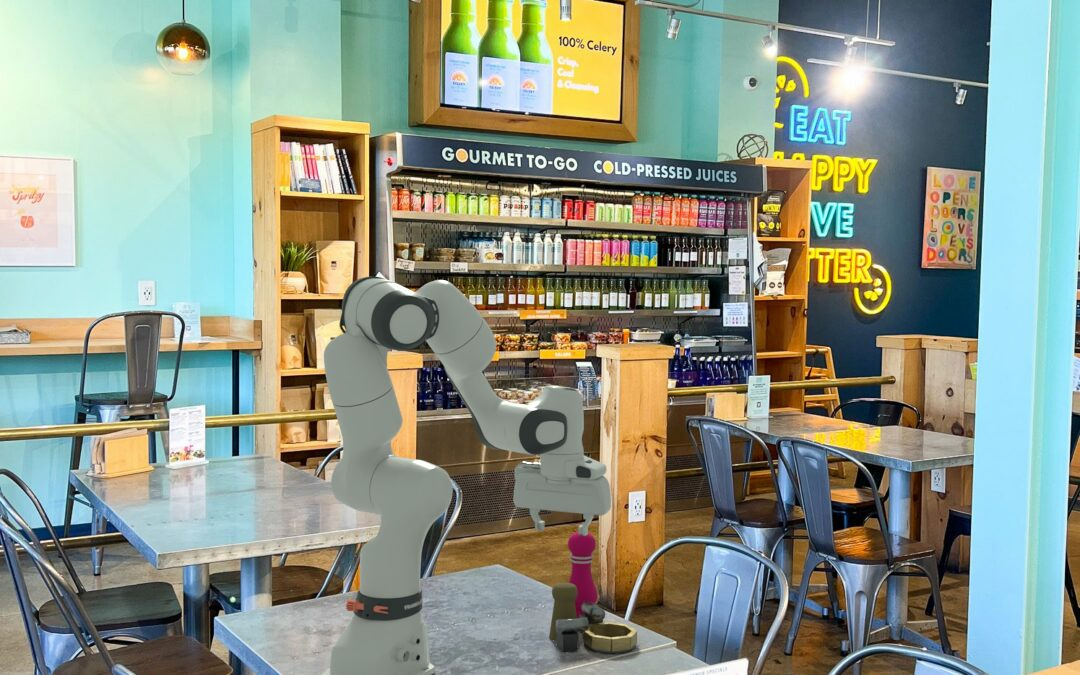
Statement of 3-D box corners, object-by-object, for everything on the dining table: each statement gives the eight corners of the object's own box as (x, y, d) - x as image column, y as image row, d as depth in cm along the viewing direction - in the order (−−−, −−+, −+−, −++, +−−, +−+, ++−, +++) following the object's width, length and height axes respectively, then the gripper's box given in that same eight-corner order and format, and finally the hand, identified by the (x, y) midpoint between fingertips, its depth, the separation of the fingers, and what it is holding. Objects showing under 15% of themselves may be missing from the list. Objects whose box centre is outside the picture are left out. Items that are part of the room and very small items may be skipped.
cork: (584, 639, 211) (585, 585, 211) (558, 644, 208) (559, 589, 208) (568, 631, 217) (569, 578, 216) (543, 635, 214) (544, 581, 213)
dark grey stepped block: (560, 653, 203) (560, 623, 203) (554, 646, 207) (554, 616, 207) (589, 650, 205) (590, 620, 205) (582, 644, 209) (583, 614, 208)
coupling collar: (626, 657, 201) (626, 641, 201) (575, 649, 205) (576, 634, 205) (642, 641, 211) (643, 626, 211) (594, 634, 215) (594, 619, 215)
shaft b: (578, 629, 218) (578, 601, 217) (595, 627, 219) (596, 599, 219) (590, 638, 212) (590, 609, 212) (608, 636, 214) (608, 607, 213)
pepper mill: (603, 615, 228) (605, 524, 227) (585, 624, 222) (587, 529, 221) (575, 609, 232) (576, 519, 231) (557, 617, 226) (558, 525, 225)
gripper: (508, 463, 213) (508, 530, 214) (603, 471, 205) (603, 541, 206) (520, 458, 219) (520, 523, 220) (613, 466, 211) (613, 533, 212)
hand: (561, 532), depth 213 cm, fingers open, 8 cm apart
